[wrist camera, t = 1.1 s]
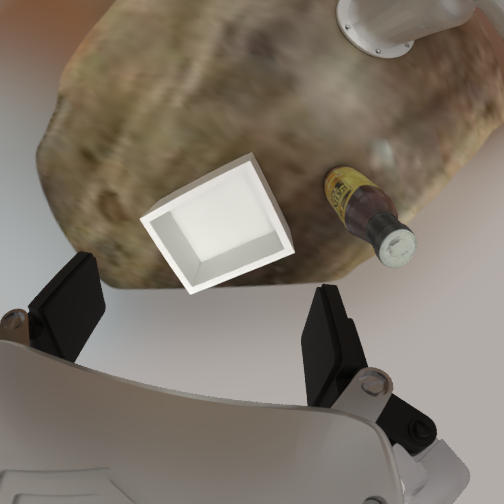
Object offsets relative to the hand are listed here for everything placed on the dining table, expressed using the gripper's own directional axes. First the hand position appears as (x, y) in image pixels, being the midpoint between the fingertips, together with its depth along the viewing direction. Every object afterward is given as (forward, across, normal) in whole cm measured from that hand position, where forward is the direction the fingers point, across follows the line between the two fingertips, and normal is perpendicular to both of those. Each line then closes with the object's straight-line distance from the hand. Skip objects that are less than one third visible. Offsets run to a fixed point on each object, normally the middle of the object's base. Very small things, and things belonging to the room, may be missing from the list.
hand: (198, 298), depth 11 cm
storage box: (+31, +2, +9) cm, 32 cm away
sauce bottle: (+32, -14, +2) cm, 35 cm away
